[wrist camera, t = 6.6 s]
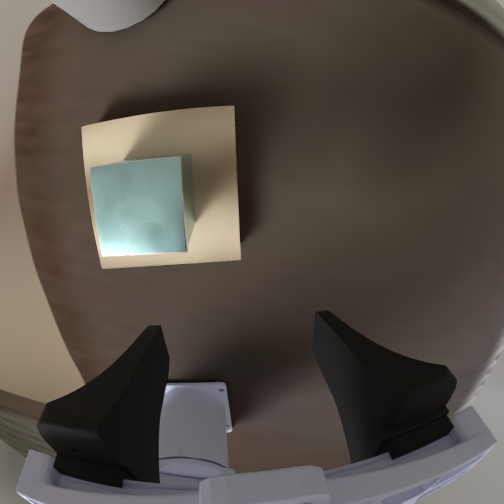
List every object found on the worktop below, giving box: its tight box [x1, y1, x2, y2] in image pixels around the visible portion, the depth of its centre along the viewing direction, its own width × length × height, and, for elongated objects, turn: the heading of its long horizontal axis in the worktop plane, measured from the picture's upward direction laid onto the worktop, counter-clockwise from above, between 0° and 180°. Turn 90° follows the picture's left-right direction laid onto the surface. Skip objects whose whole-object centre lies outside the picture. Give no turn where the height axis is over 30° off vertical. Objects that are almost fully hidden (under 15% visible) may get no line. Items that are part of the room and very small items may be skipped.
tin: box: [90, 154, 195, 256], centre depth 15 cm, size 4×4×5 cm
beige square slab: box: [82, 106, 241, 269], centre depth 18 cm, size 10×10×3 cm
